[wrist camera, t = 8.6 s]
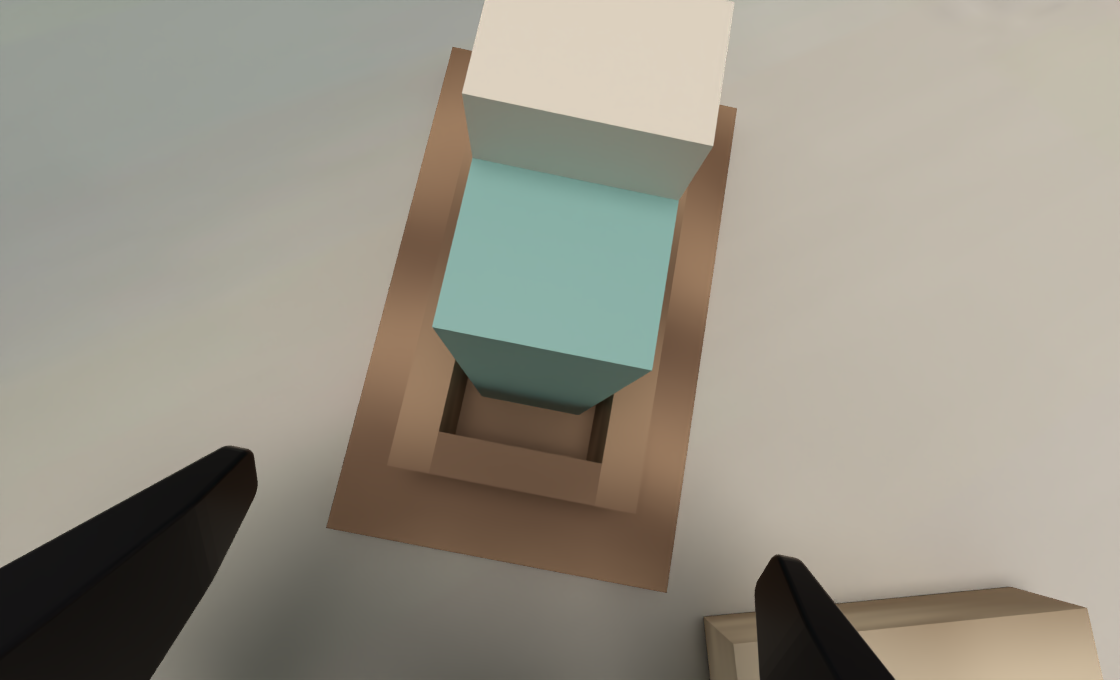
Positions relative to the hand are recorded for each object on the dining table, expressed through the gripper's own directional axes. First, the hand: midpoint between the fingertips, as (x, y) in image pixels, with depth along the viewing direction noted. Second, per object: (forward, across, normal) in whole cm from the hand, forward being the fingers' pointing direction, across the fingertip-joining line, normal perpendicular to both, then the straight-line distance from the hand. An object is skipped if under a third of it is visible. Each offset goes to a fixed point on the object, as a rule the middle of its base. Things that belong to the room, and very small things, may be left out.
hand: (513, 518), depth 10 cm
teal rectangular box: (+9, 0, +1) cm, 9 cm away
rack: (+10, 0, +1) cm, 10 cm away
